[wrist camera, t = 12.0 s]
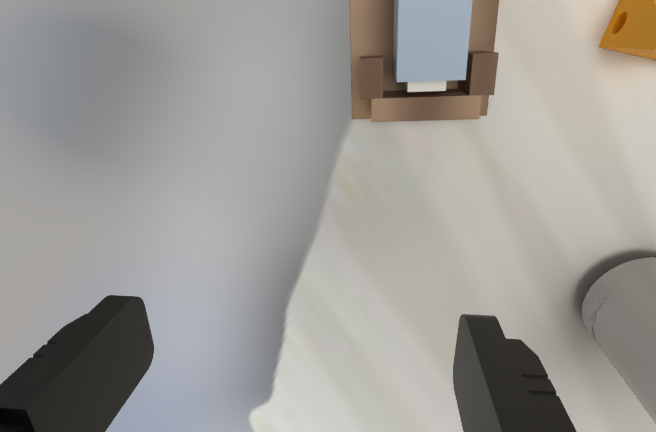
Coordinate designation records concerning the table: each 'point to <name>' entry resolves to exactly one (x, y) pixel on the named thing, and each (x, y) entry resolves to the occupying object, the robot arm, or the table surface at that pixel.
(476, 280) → the table surface
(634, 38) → the pipe clamp
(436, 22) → the tall pale blue pillar
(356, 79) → the cradle
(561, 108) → the table surface
